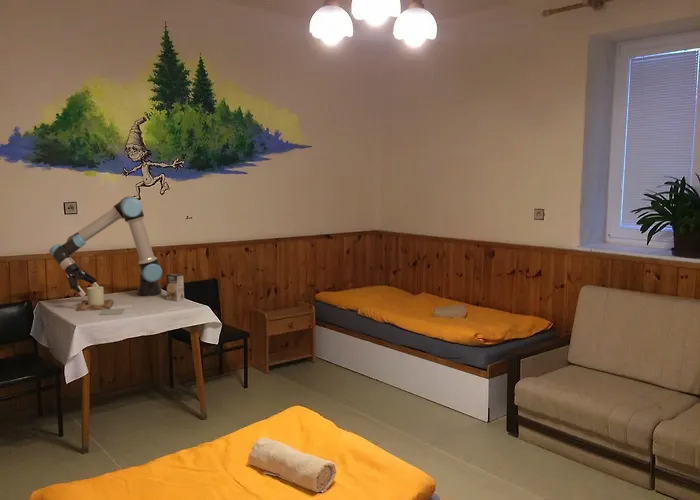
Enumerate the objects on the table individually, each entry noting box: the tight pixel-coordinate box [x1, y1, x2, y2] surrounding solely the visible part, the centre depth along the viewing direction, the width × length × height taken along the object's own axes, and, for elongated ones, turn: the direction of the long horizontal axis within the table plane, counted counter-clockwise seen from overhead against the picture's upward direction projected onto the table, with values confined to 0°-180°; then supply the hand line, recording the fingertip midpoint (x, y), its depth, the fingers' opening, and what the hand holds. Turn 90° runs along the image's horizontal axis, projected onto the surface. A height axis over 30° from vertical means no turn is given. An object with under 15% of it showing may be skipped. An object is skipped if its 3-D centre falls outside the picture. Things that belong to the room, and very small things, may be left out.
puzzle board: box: [77, 298, 115, 312], centre depth 361 cm, size 17×17×2 cm
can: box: [86, 286, 105, 305], centre depth 360 cm, size 9×9×12 cm
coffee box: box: [165, 272, 185, 302], centre depth 382 cm, size 9×6×16 cm
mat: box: [98, 307, 126, 316], centre depth 348 cm, size 12×12×1 cm
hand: (92, 293), depth 360 cm, fingers open, 13 cm apart
